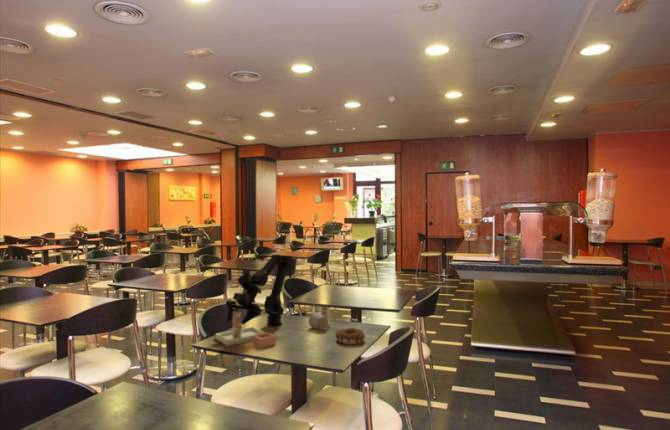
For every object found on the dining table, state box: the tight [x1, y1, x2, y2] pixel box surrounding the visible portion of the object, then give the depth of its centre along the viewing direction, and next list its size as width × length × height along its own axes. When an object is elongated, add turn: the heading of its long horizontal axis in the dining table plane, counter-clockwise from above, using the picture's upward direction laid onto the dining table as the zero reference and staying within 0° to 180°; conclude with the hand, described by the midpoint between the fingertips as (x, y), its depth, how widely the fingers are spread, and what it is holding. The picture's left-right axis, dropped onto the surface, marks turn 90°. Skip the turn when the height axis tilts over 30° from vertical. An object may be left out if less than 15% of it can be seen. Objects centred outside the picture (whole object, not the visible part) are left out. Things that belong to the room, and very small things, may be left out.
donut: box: [335, 327, 366, 345], centre depth 201 cm, size 14×14×5 cm
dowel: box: [232, 310, 242, 339], centre depth 202 cm, size 4×4×12 cm
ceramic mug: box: [308, 312, 331, 331], centre depth 222 cm, size 11×8×8 cm
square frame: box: [252, 332, 276, 349], centre depth 195 cm, size 8×8×4 cm
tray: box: [215, 326, 266, 347], centre depth 204 cm, size 20×14×2 cm
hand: (235, 322), depth 200 cm, fingers open, 9 cm apart
